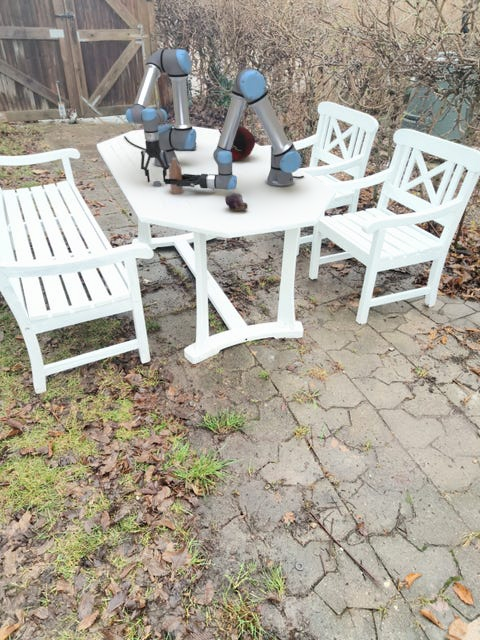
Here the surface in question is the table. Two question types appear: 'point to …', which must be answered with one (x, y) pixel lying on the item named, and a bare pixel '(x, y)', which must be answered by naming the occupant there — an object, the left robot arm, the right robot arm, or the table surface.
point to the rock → (235, 202)
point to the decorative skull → (242, 144)
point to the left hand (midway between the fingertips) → (156, 181)
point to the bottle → (175, 176)
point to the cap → (156, 183)
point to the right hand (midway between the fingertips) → (167, 179)
